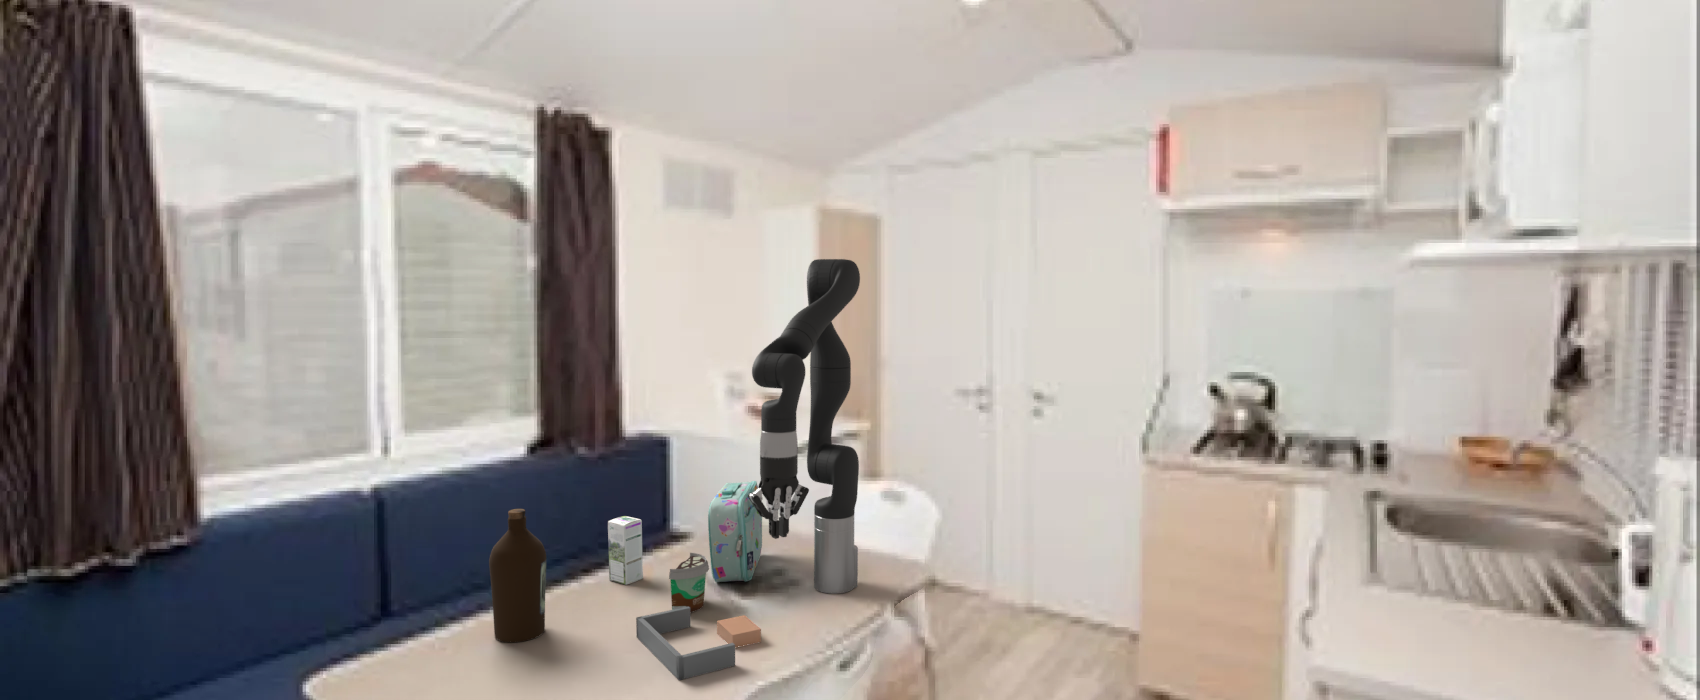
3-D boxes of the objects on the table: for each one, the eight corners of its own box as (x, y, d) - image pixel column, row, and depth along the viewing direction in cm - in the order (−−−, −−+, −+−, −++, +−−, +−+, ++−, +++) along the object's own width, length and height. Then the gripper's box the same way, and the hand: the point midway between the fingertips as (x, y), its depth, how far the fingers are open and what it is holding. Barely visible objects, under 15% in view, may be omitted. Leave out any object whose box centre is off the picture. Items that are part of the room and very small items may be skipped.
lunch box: (751, 590, 199) (751, 498, 197) (706, 590, 199) (705, 498, 198) (764, 553, 226) (764, 472, 224) (724, 553, 226) (724, 471, 224)
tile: (744, 629, 178) (744, 615, 178) (760, 643, 171) (760, 628, 171) (716, 635, 175) (716, 620, 175) (732, 650, 168) (732, 635, 168)
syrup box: (643, 578, 207) (643, 518, 205) (625, 585, 202) (624, 524, 200) (626, 573, 210) (626, 514, 208) (607, 581, 205) (606, 520, 203)
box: (688, 625, 179) (688, 606, 179) (735, 665, 161) (735, 644, 160) (636, 636, 173) (636, 617, 173) (678, 680, 155) (678, 658, 154)
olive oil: (493, 648, 168) (489, 520, 165) (489, 628, 177) (486, 507, 175) (551, 638, 172) (548, 514, 170) (544, 619, 182) (541, 501, 180)
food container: (696, 618, 183) (696, 572, 182) (669, 616, 184) (668, 569, 183) (717, 597, 195) (717, 553, 194) (691, 595, 196) (691, 551, 195)
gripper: (799, 445, 182) (798, 527, 183) (739, 452, 175) (740, 537, 176) (817, 452, 176) (817, 536, 177) (757, 459, 168) (757, 547, 170)
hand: (778, 536), depth 177 cm, fingers closed
